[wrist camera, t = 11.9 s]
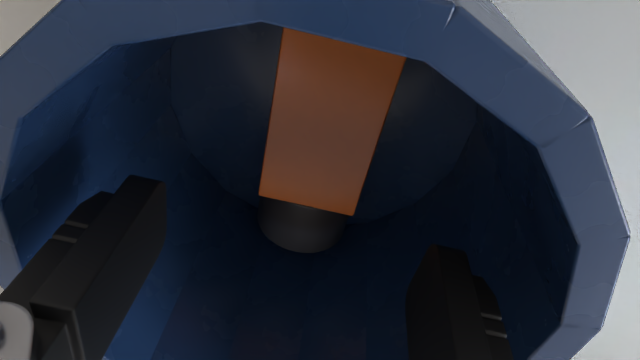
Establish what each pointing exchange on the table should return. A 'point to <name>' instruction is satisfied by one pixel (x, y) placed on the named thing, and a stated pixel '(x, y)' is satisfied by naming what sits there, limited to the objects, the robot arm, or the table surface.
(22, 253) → the tin
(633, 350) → the table surface
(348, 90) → the handle
